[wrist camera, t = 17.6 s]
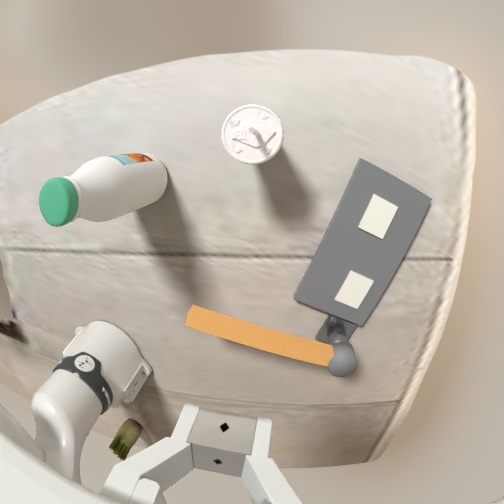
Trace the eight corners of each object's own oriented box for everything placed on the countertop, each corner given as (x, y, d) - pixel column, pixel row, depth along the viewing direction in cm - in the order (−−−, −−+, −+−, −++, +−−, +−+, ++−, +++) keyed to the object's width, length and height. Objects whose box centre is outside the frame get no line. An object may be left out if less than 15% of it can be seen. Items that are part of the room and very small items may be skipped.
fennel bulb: (124, 414, 61) (105, 447, 50) (141, 420, 61) (123, 454, 49) (129, 426, 63) (111, 458, 52) (145, 432, 63) (128, 464, 51)
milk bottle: (178, 169, 39) (92, 188, 21) (154, 213, 42) (67, 259, 23) (139, 143, 39) (41, 148, 20) (117, 187, 41) (22, 216, 23)
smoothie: (287, 160, 37) (285, 163, 24) (239, 164, 38) (212, 169, 25) (283, 114, 35) (279, 92, 22) (235, 118, 36) (206, 100, 23)
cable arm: (358, 344, 38) (362, 358, 35) (346, 364, 40) (349, 379, 37) (194, 297, 39) (187, 309, 36) (189, 320, 40) (182, 333, 37)
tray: (360, 322, 43) (362, 327, 42) (293, 295, 43) (293, 300, 42) (428, 197, 36) (432, 199, 34) (359, 158, 36) (361, 158, 34)
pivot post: (341, 346, 45) (345, 367, 40) (315, 337, 45) (316, 358, 40) (356, 323, 44) (362, 343, 38) (329, 313, 44) (333, 333, 38)
